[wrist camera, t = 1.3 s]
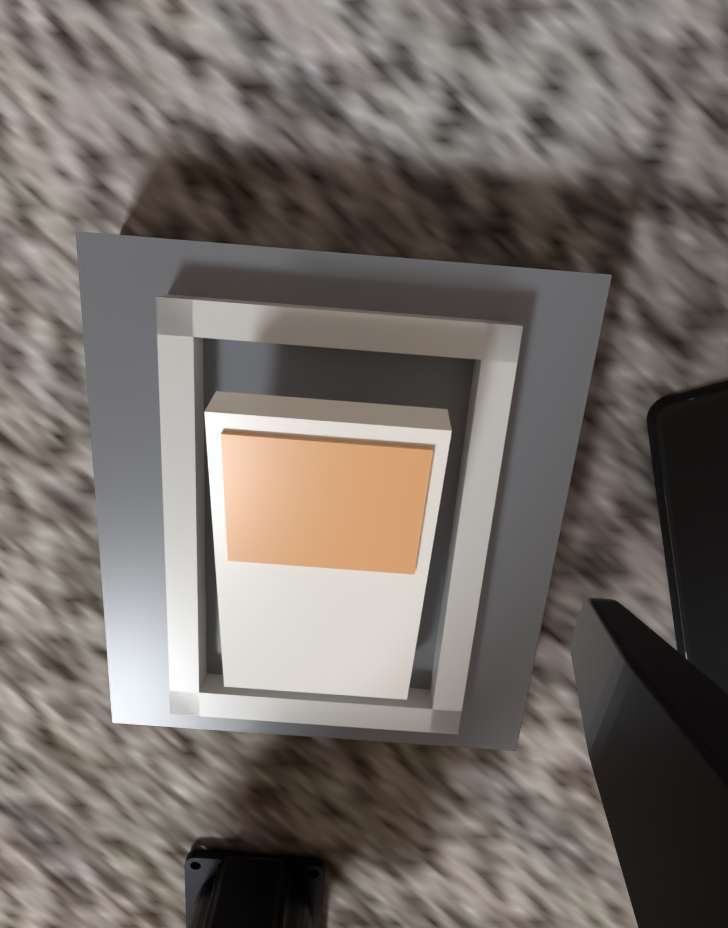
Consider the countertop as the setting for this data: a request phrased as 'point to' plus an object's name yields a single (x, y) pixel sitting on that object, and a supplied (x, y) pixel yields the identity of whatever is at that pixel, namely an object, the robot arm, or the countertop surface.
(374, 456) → the rocker switch
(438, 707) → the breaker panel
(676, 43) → the countertop surface
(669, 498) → the smartphone
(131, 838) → the countertop surface
